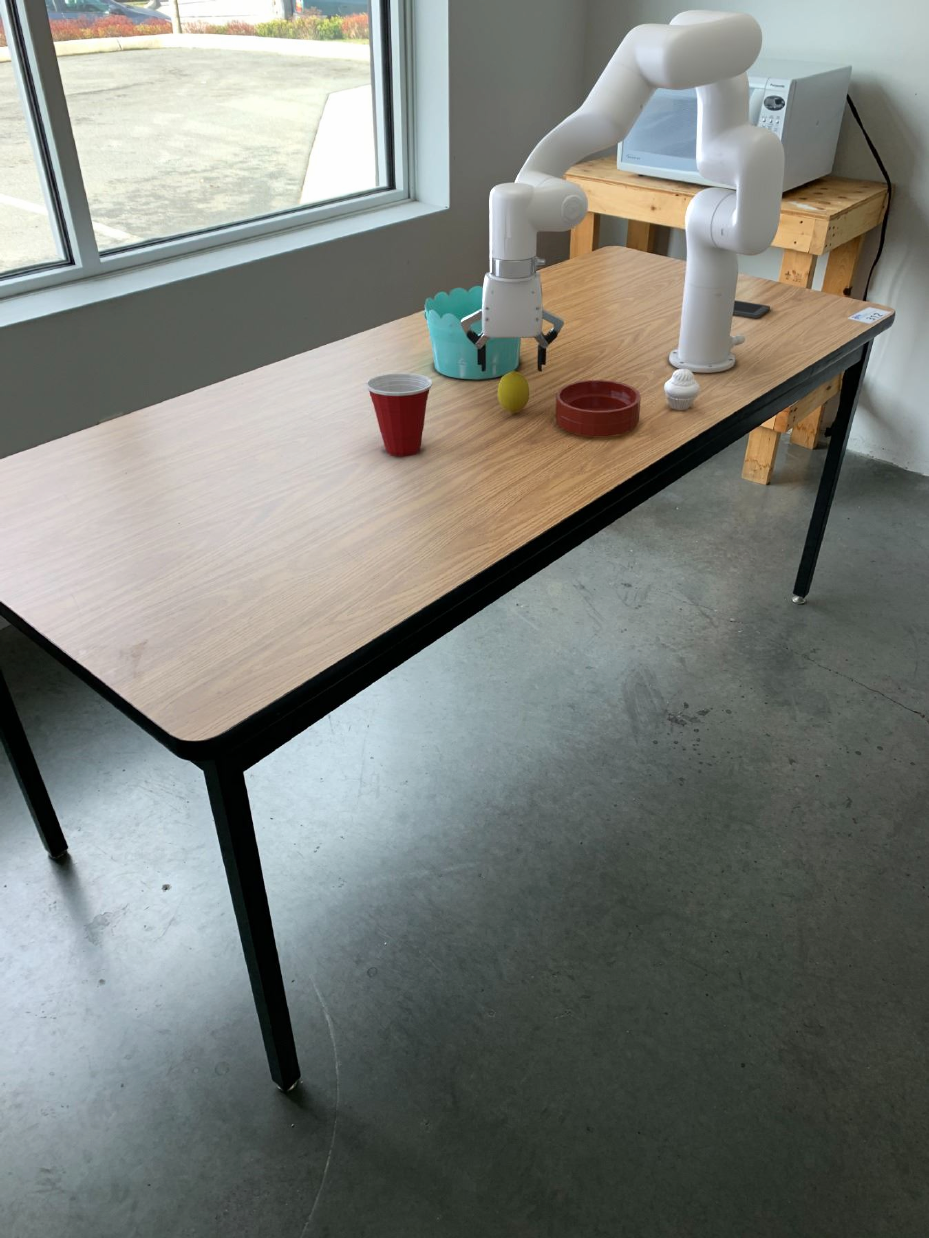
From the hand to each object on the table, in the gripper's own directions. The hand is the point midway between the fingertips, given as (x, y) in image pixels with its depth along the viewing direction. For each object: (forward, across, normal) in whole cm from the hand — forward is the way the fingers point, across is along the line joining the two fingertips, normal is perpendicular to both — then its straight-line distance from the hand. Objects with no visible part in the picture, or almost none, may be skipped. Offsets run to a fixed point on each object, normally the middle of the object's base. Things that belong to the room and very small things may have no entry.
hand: (511, 368), depth 167 cm
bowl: (+8, -15, +4) cm, 17 cm away
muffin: (+8, -30, -3) cm, 31 cm away
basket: (+8, +7, -25) cm, 27 cm away
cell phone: (+7, -50, -56) cm, 75 cm away
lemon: (+9, 0, 0) cm, 9 cm away
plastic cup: (+9, +18, +14) cm, 24 cm away
